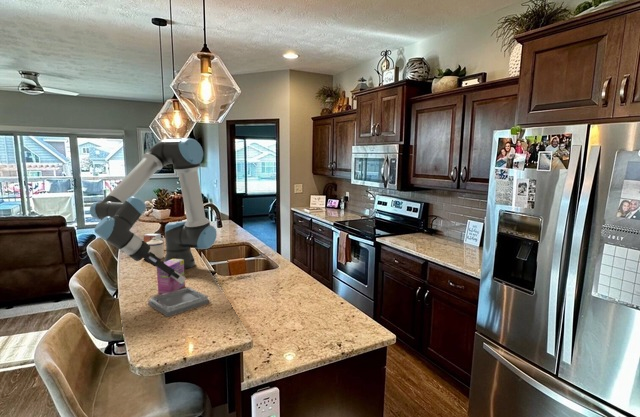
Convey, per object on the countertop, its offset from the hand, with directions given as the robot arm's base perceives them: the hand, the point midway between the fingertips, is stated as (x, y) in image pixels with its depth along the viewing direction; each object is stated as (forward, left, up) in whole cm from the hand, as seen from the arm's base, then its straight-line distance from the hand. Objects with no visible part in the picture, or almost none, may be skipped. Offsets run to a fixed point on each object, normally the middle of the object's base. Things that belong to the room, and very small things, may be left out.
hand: (178, 278), depth 145 cm
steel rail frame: (+8, +17, -3) cm, 19 cm away
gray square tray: (+8, +17, -4) cm, 19 cm away
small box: (-19, -74, -5) cm, 77 cm away
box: (+3, 0, -5) cm, 5 cm away
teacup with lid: (-12, -57, -5) cm, 59 cm away
